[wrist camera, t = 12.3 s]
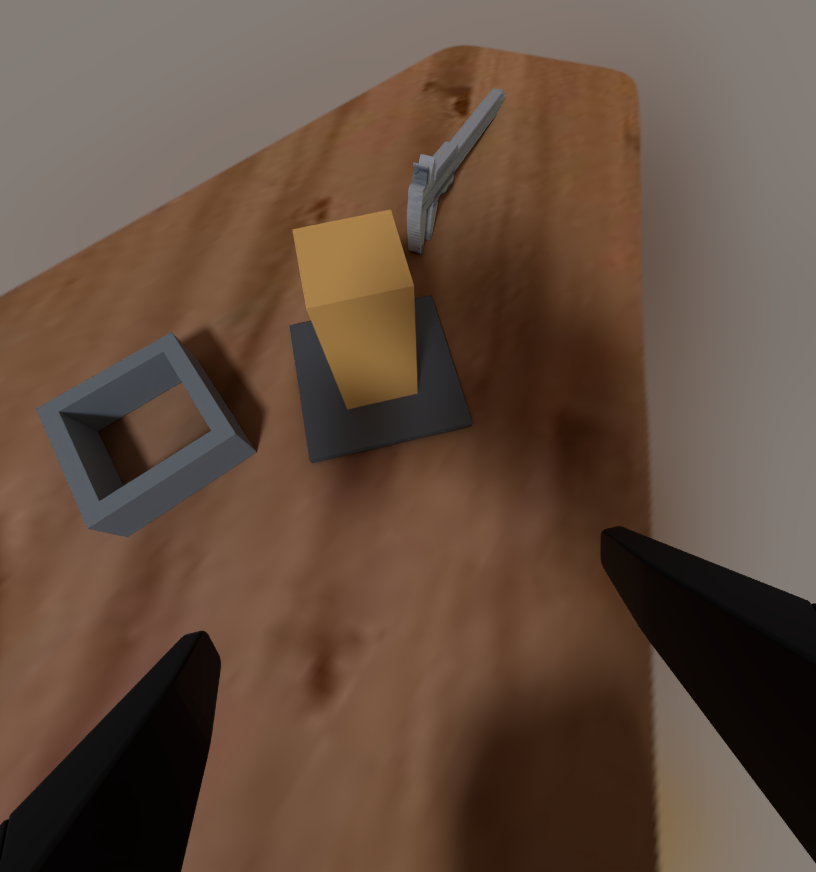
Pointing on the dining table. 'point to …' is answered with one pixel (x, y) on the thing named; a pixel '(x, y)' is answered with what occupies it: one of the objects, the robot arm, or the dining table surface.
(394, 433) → the mat
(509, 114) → the dining table surface
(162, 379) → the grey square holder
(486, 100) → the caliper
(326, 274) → the block
